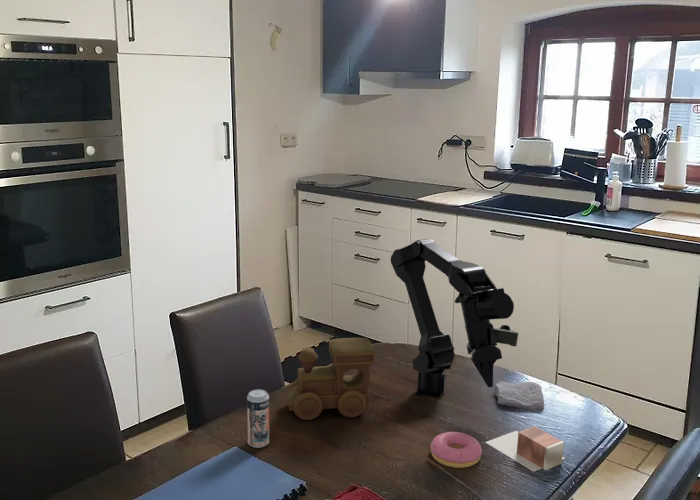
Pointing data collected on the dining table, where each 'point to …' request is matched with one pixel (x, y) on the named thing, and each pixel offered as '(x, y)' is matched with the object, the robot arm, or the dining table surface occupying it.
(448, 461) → the doughnut
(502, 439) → the white paper sheet
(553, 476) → the dining table surface
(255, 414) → the beer can
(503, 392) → the stone block
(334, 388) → the wooden toy train
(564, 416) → the dining table surface
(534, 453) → the brick block
